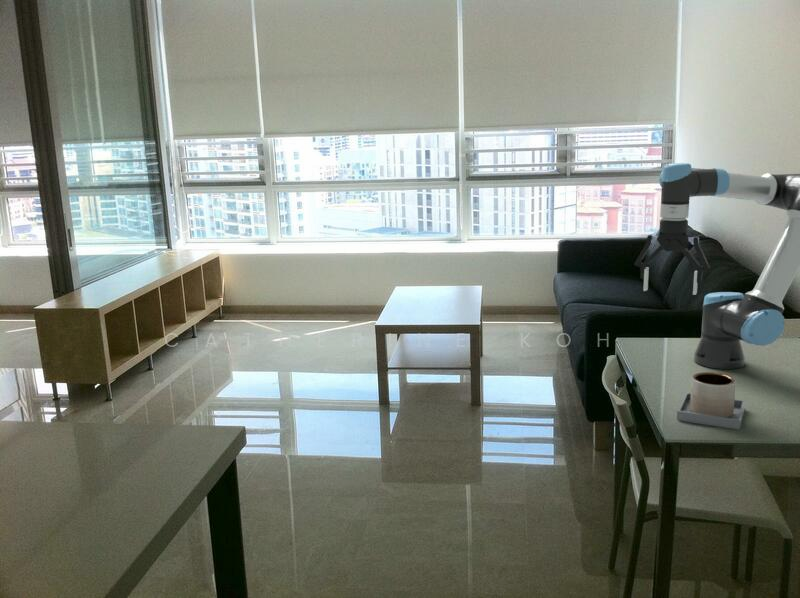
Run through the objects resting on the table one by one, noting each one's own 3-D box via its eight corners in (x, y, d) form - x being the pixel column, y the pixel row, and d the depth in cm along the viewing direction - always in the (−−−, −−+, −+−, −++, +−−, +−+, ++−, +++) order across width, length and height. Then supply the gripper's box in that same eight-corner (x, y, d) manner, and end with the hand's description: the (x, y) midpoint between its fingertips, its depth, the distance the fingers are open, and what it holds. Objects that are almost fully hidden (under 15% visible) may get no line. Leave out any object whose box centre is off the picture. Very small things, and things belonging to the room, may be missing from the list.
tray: (685, 400, 209) (685, 392, 208) (744, 409, 202) (745, 400, 201) (676, 419, 196) (677, 411, 195) (739, 429, 189) (740, 420, 188)
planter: (738, 421, 192) (741, 386, 190) (694, 419, 194) (696, 384, 192) (727, 405, 203) (730, 372, 201) (685, 404, 205) (688, 371, 203)
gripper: (626, 218, 212) (623, 291, 217) (720, 222, 201) (714, 298, 205) (631, 215, 219) (628, 286, 224) (723, 218, 207) (717, 292, 212)
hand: (669, 292), depth 214 cm, fingers open, 13 cm apart
